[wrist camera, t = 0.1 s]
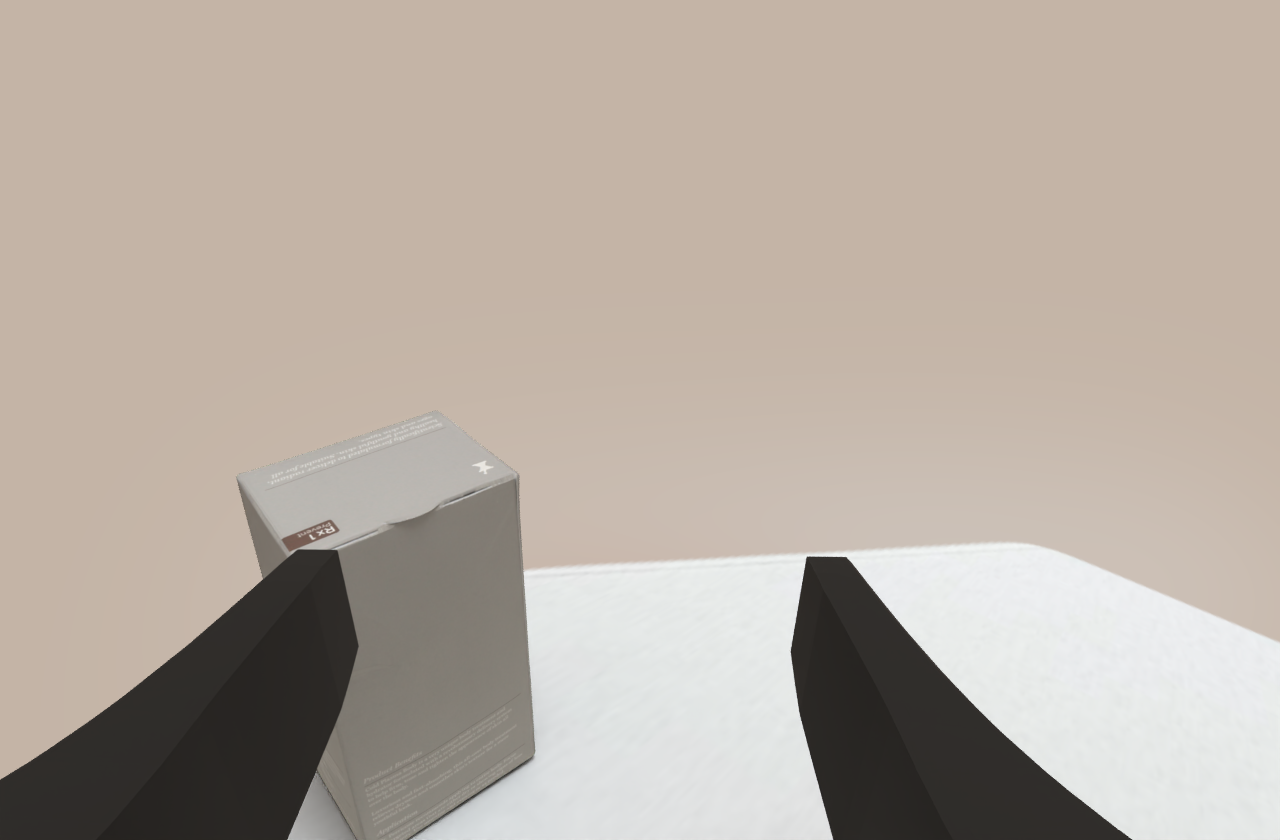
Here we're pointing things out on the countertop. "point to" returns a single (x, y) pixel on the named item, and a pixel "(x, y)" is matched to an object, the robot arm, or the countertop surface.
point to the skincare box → (412, 613)
